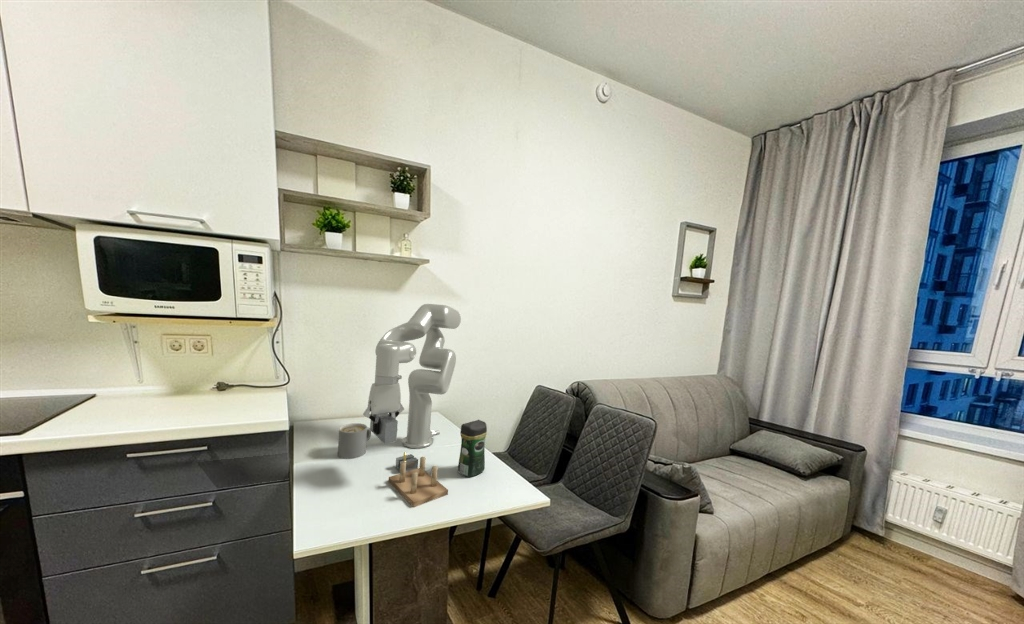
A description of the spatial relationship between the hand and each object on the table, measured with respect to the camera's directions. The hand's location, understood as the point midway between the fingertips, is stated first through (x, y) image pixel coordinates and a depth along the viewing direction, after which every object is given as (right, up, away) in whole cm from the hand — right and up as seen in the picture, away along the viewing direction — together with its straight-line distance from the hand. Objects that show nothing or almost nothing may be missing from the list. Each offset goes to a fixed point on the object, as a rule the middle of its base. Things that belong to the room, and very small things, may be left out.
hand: (383, 431), depth 121 cm
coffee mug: (-17, -14, +16) cm, 27 cm away
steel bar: (0, -1, 0) cm, 1 cm away
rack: (+14, -17, -6) cm, 22 cm away
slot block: (+6, -16, +6) cm, 18 cm away
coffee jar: (+30, -18, +8) cm, 35 cm away
